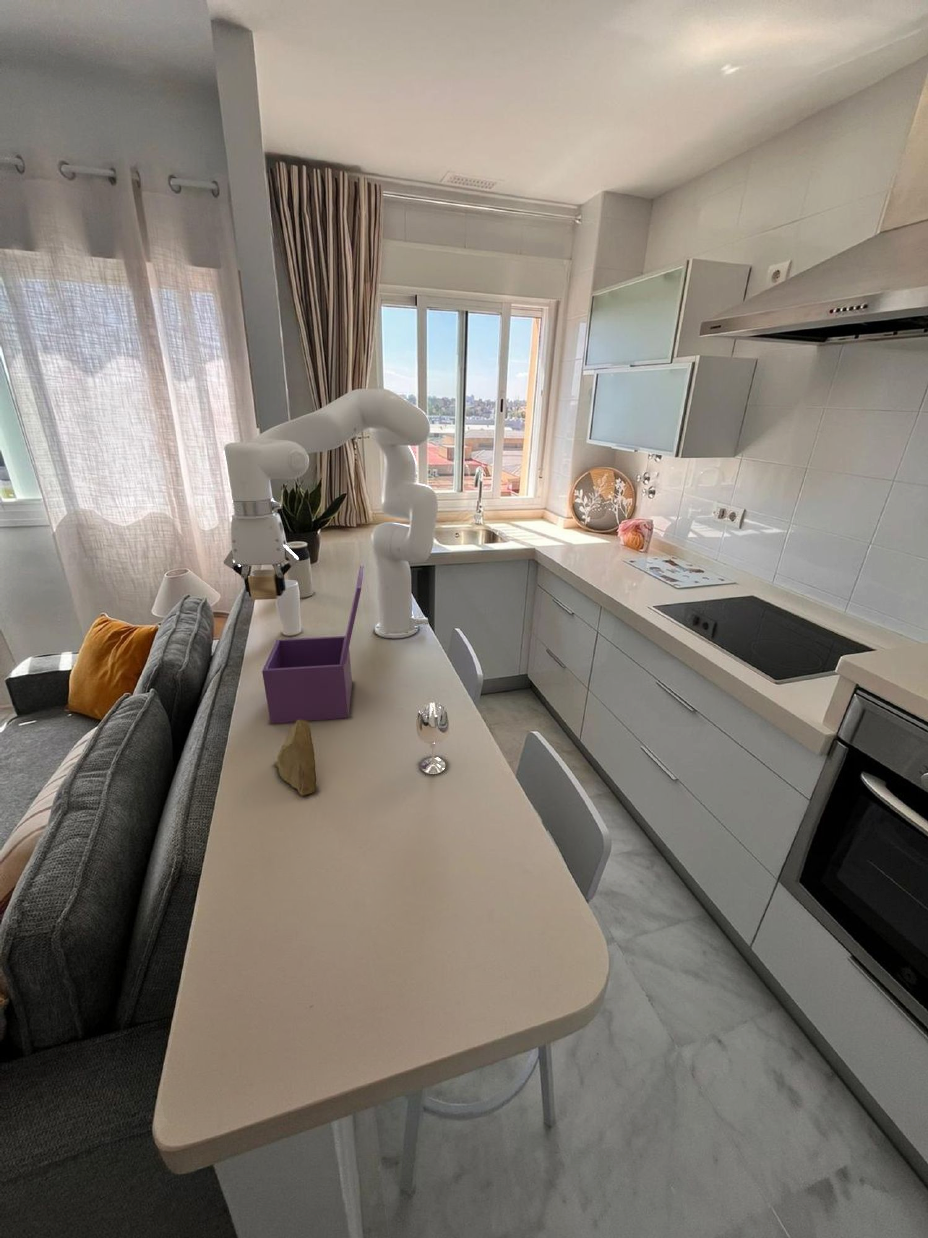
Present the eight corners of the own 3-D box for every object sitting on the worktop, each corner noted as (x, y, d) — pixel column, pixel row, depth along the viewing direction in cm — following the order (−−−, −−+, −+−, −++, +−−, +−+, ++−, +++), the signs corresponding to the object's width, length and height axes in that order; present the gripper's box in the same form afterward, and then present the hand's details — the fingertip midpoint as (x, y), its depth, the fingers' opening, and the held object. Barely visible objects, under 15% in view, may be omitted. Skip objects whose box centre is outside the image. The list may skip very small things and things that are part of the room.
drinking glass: (296, 638, 139) (290, 588, 134) (274, 636, 141) (267, 586, 135) (308, 629, 146) (302, 580, 140) (287, 627, 147) (280, 578, 141)
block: (281, 591, 108) (278, 569, 106) (276, 599, 103) (273, 576, 101) (257, 591, 107) (254, 569, 105) (251, 599, 103) (247, 576, 101)
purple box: (270, 723, 101) (261, 670, 97) (283, 687, 115) (276, 639, 110) (348, 718, 104) (343, 665, 99) (352, 683, 117) (348, 635, 112)
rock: (330, 785, 81) (336, 741, 90) (292, 757, 77) (301, 715, 86) (282, 816, 84) (292, 770, 92) (242, 791, 80) (256, 746, 88)
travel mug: (309, 598, 169) (303, 547, 162) (286, 598, 169) (279, 546, 162) (316, 590, 176) (310, 541, 170) (294, 590, 177) (287, 541, 170)
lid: (357, 587, 93) (361, 588, 93) (360, 565, 106) (363, 566, 107) (341, 663, 99) (345, 664, 99) (346, 633, 112) (349, 634, 112)
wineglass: (453, 759, 91) (453, 704, 87) (442, 779, 86) (441, 722, 82) (424, 753, 93) (423, 698, 89) (412, 772, 88) (410, 715, 83)
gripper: (301, 504, 103) (310, 587, 110) (214, 505, 101) (230, 589, 108) (294, 511, 96) (305, 599, 103) (201, 512, 94) (219, 602, 101)
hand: (266, 593), depth 105 cm, fingers closed on block, 5 cm apart
